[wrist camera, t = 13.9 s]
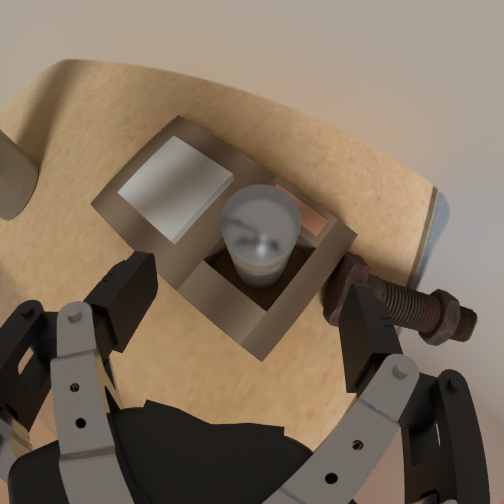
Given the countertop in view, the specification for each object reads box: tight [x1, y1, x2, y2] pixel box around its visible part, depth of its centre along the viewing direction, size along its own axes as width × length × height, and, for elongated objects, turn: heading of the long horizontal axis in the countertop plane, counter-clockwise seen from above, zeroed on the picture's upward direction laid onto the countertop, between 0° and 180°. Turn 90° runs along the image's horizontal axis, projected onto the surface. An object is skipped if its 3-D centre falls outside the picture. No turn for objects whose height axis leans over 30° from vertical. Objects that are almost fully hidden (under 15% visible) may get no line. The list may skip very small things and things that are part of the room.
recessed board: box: [91, 115, 358, 362], centre depth 22 cm, size 20×12×4 cm, turn 51°
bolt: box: [323, 253, 477, 346], centre depth 20 cm, size 6×5×15 cm
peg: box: [220, 184, 301, 288], centre depth 18 cm, size 4×4×10 cm
